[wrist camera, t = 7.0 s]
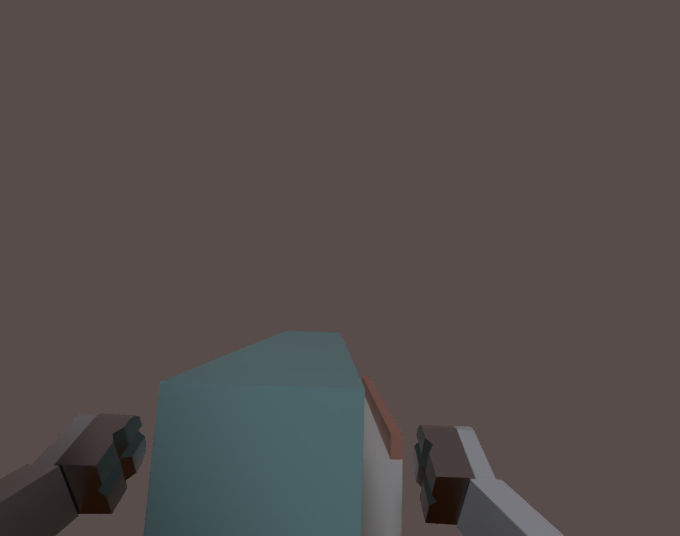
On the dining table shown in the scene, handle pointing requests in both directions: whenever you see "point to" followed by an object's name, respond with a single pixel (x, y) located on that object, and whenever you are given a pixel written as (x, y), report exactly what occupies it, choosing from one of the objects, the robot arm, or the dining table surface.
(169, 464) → the long teal rectangular block
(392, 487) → the shelf unit
